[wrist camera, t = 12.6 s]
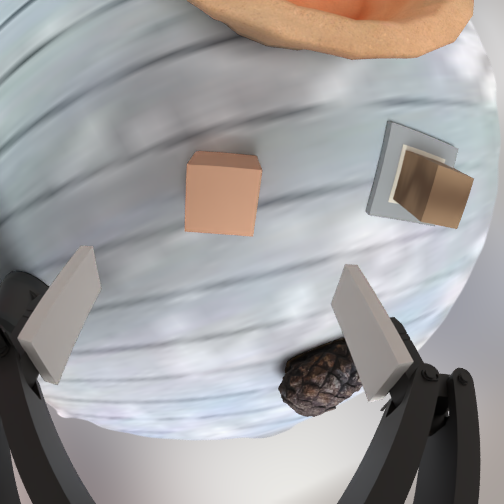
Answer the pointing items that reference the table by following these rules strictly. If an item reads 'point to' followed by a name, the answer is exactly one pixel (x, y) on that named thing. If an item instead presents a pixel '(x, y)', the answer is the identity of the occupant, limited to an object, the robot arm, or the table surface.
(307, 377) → the pine cone
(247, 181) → the terracotta cube
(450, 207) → the walnut cube
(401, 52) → the pottery
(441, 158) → the pad
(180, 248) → the table surface
